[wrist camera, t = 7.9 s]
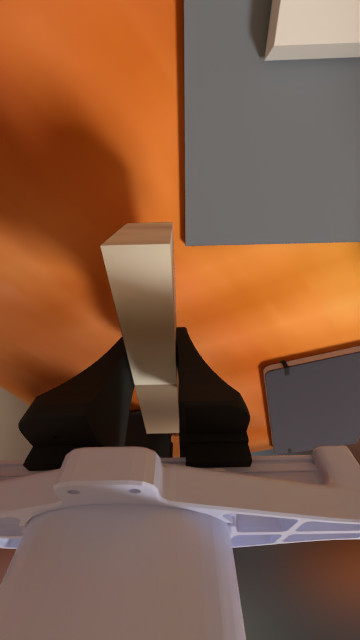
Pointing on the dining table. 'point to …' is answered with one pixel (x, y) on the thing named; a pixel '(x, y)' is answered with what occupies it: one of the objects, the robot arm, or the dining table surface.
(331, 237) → the slate mat
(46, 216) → the dining table surface
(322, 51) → the tile
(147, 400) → the long wooden beam
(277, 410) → the notebook
